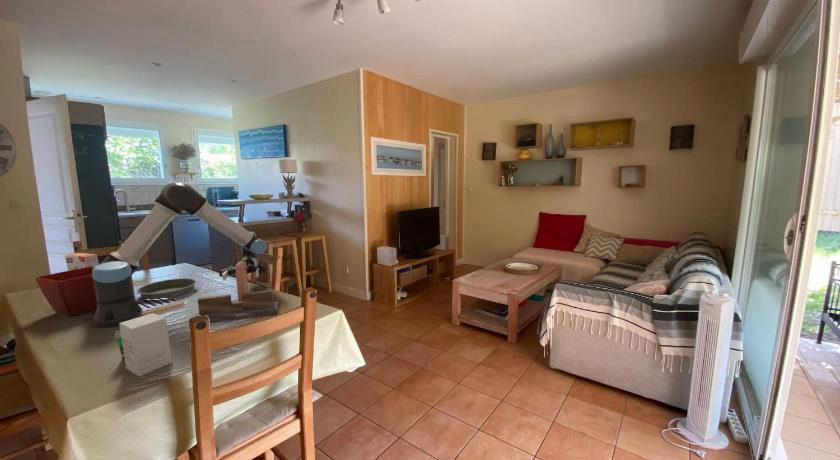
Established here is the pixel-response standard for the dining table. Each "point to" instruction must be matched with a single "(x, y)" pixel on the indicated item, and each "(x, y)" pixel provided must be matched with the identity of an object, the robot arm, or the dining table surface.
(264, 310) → the cross board
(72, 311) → the plant pot
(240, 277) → the halving plate
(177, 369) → the dining table surface
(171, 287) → the cake pan
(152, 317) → the supplement box
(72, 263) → the cracker box
